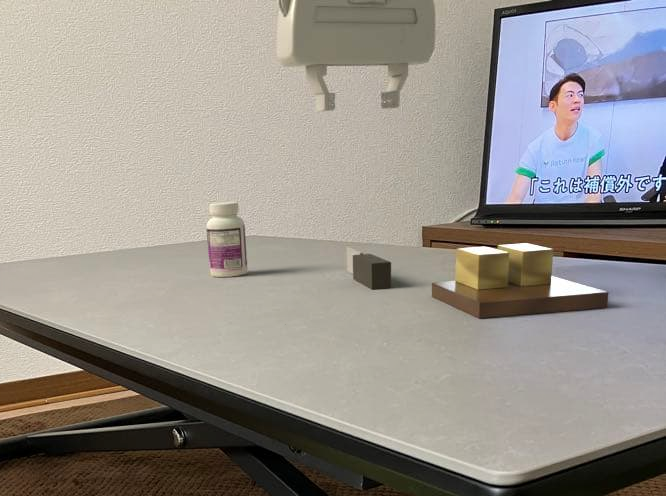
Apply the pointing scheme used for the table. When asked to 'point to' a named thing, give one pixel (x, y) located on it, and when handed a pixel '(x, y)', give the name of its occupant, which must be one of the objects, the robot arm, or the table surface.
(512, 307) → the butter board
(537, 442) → the table surface
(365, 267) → the charcoal gray box
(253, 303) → the table surface
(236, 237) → the pill bottle
